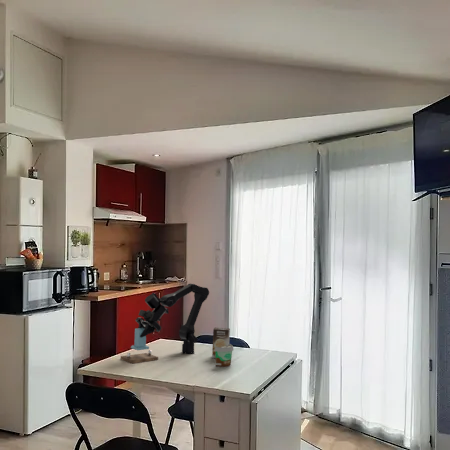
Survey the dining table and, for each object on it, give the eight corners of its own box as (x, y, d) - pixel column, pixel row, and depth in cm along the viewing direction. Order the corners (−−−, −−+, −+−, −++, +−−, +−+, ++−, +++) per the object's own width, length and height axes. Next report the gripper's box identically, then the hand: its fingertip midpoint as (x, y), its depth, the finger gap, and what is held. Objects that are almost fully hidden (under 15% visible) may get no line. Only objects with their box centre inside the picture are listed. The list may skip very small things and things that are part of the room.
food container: (223, 368, 248) (224, 348, 248) (214, 366, 251) (214, 346, 252) (237, 364, 257) (238, 345, 258) (228, 362, 261) (229, 343, 262)
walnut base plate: (146, 355, 271) (146, 352, 271) (158, 359, 262) (158, 357, 262) (120, 359, 261) (120, 356, 261) (131, 363, 252) (131, 360, 252)
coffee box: (211, 358, 270) (212, 329, 271) (212, 355, 277) (213, 327, 278) (228, 359, 269) (229, 329, 270) (229, 356, 276) (230, 328, 277)
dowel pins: (150, 354, 267) (150, 350, 267) (151, 355, 266) (152, 350, 266) (126, 357, 258) (126, 353, 258) (128, 358, 256) (128, 353, 257)
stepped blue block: (142, 346, 267) (142, 327, 267) (148, 348, 262) (149, 329, 262) (130, 348, 262) (131, 328, 263) (137, 350, 257) (138, 330, 258)
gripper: (139, 302, 273) (120, 324, 265) (157, 306, 259) (138, 329, 251) (150, 315, 278) (132, 337, 270) (169, 320, 263) (150, 342, 256)
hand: (138, 336), depth 261 cm, fingers closed on stepped blue block, 4 cm apart
